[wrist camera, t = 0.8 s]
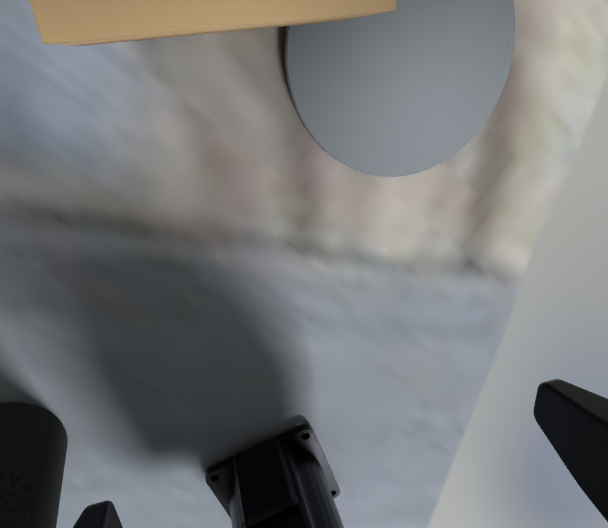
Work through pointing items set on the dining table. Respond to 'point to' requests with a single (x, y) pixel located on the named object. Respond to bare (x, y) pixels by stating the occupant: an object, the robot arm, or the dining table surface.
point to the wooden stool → (183, 17)
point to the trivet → (401, 81)
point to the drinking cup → (30, 466)
